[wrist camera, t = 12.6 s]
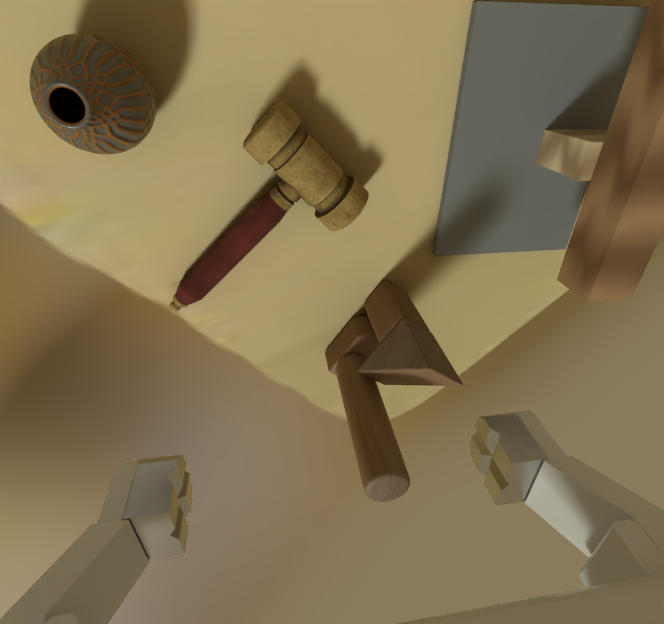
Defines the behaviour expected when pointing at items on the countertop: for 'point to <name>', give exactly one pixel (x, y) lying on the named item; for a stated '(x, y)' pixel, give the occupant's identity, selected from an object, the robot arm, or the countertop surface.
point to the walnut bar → (624, 182)
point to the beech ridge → (571, 151)
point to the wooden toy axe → (384, 381)
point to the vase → (92, 93)
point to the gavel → (278, 198)
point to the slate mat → (527, 119)
